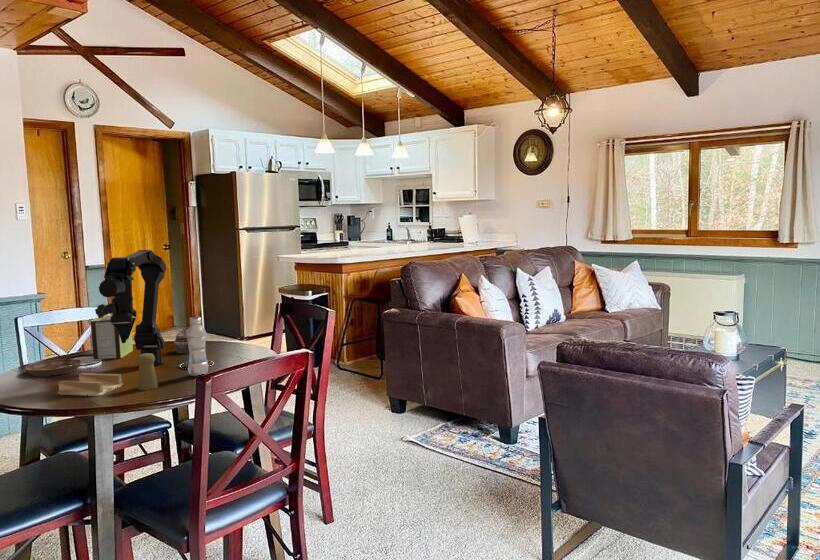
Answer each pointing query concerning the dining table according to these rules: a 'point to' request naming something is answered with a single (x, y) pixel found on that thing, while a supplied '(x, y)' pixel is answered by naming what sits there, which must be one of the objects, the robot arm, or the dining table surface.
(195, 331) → the plastic bottle
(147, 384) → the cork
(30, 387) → the dining table surface
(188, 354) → the patterned bowl
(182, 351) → the cupcake
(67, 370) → the plant saucer
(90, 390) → the cradle
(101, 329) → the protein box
